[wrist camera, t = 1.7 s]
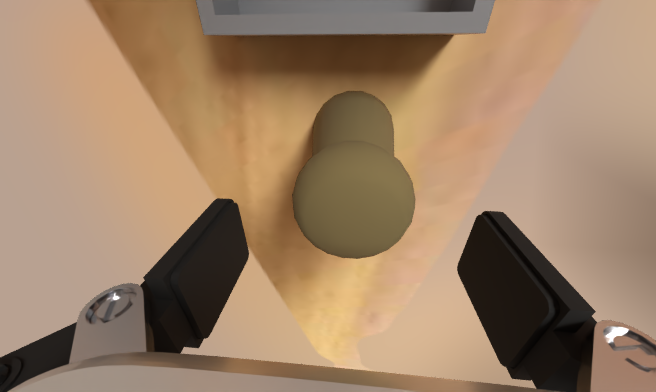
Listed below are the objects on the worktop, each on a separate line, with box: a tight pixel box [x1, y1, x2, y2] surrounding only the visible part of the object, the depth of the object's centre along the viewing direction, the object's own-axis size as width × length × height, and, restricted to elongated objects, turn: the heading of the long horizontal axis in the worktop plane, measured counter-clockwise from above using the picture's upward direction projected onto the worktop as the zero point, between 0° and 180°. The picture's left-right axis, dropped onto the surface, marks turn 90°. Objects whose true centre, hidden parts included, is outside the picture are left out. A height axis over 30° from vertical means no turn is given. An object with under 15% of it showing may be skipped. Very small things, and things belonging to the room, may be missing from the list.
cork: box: [292, 91, 415, 259], centre depth 14 cm, size 6×6×11 cm
